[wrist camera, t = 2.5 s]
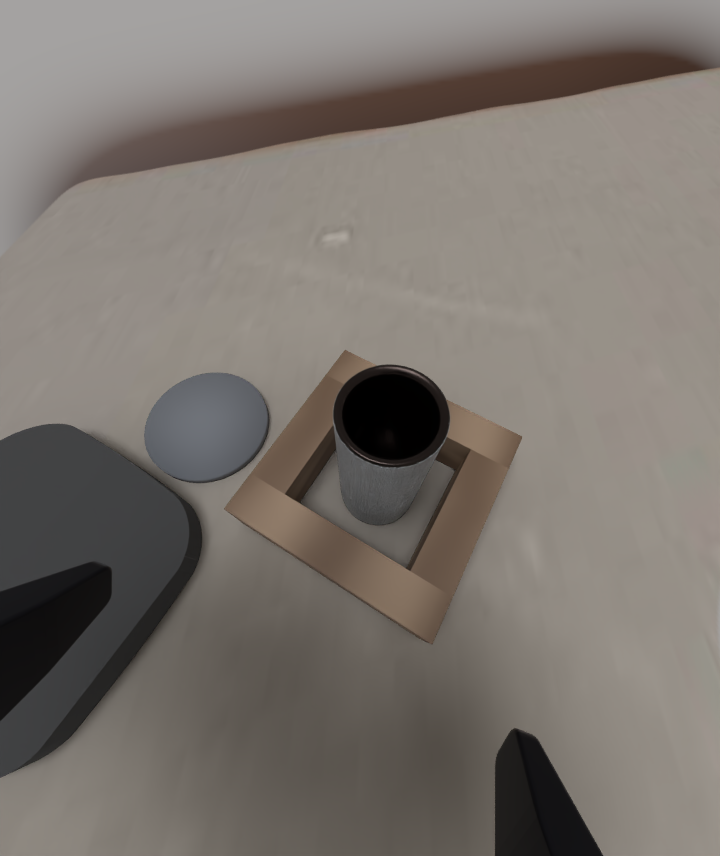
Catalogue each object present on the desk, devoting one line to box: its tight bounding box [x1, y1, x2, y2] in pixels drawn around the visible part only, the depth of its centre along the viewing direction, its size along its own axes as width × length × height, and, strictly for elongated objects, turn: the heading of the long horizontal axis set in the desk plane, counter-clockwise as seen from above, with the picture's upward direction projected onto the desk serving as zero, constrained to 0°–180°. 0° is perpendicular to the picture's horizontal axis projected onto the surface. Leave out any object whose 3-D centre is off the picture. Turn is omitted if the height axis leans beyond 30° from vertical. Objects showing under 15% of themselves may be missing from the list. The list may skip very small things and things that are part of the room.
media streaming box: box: [0, 424, 202, 778], centre depth 20 cm, size 15×15×3 cm
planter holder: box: [224, 350, 522, 644], centre depth 22 cm, size 12×12×4 cm
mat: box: [144, 373, 269, 483], centre depth 25 cm, size 8×8×1 cm
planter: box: [333, 365, 450, 525], centre depth 19 cm, size 4×4×10 cm
